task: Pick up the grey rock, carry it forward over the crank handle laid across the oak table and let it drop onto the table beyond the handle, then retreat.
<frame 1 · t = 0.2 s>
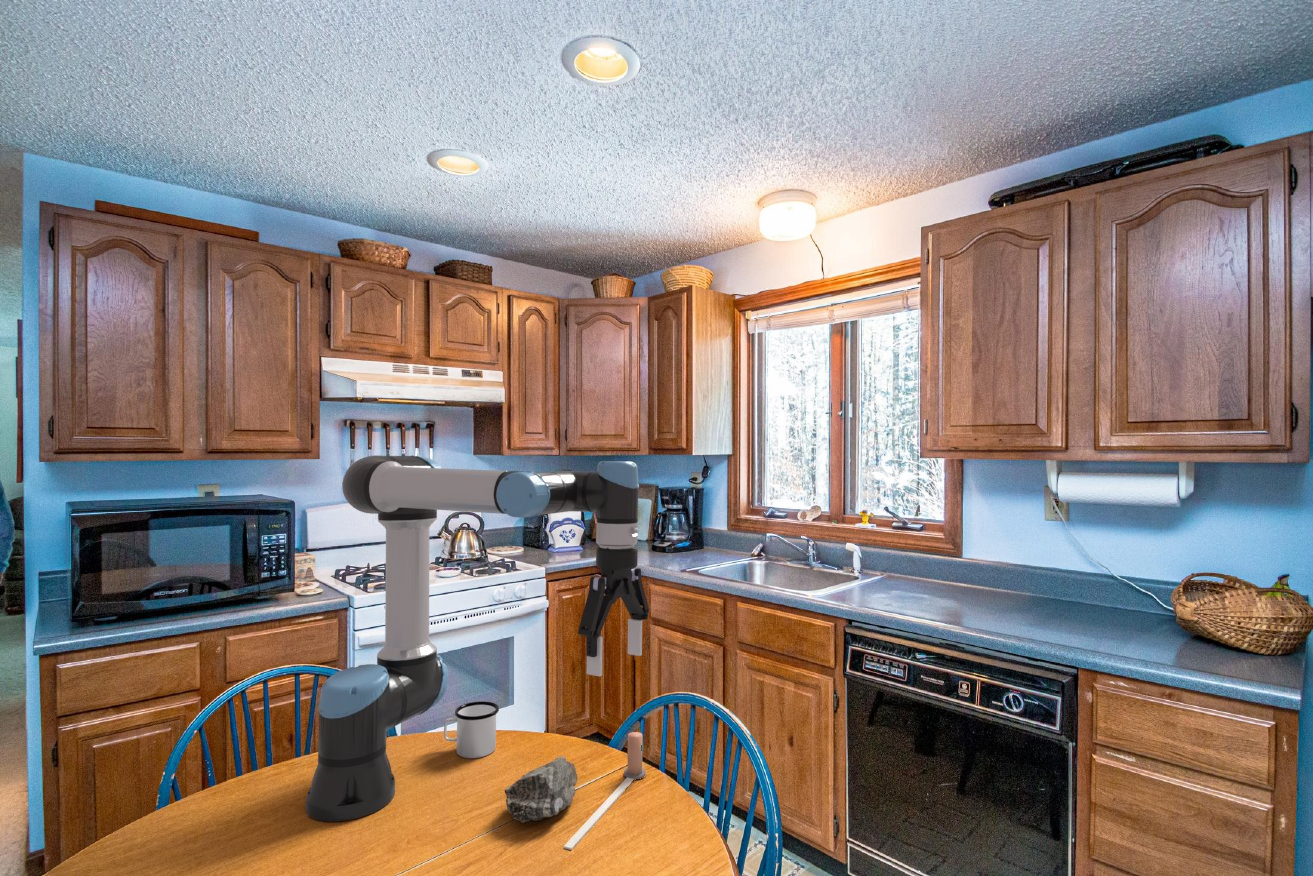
hand: (615, 664, 117), 27 cm above the table, fingers open, 13 cm apart
crank handle: (603, 810, 118), on the table
rock: (542, 807, 120), on the table
mug: (470, 751, 143), on the table
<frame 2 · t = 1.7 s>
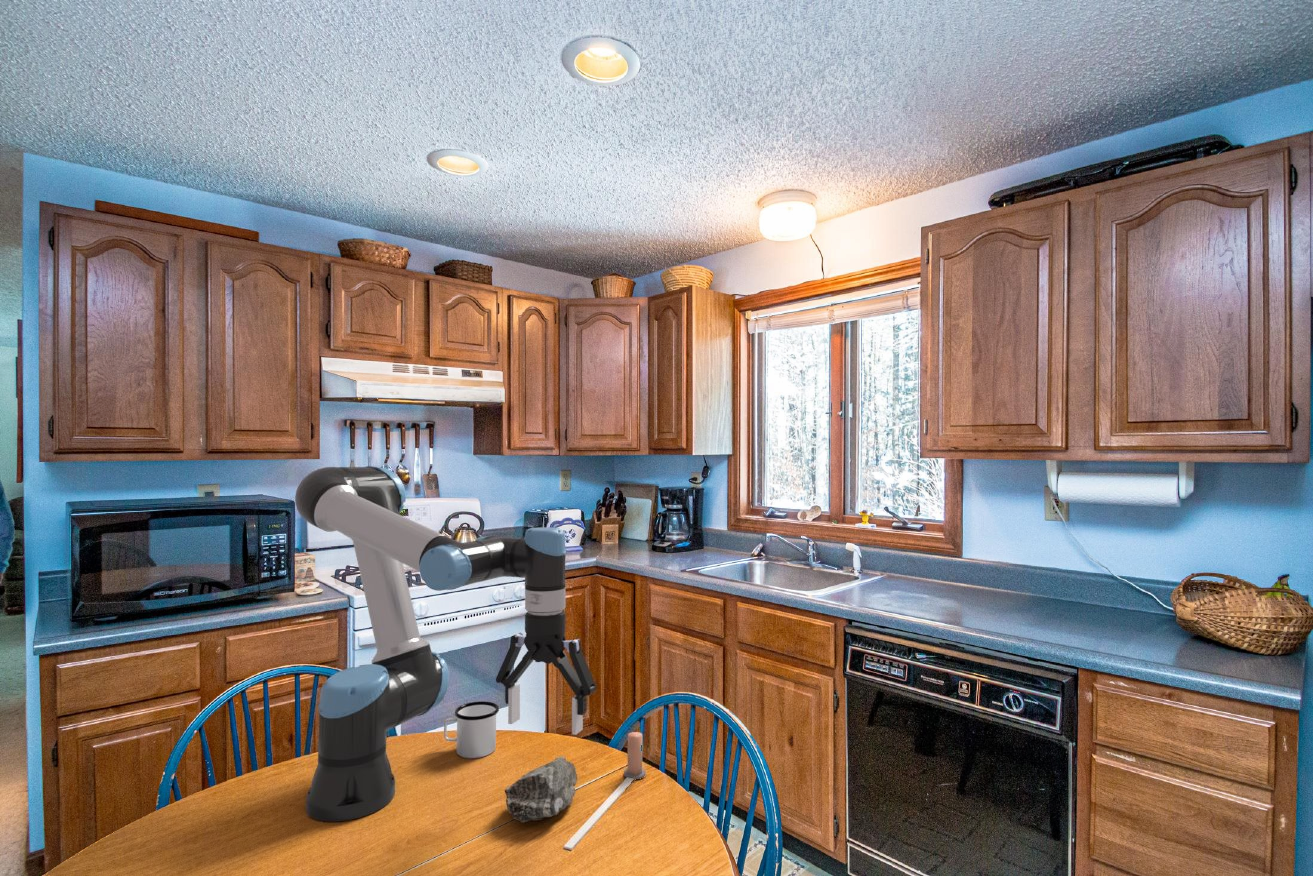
hand: (545, 726, 120), 14 cm above the table, fingers open, 13 cm apart
nothing on the table moved.
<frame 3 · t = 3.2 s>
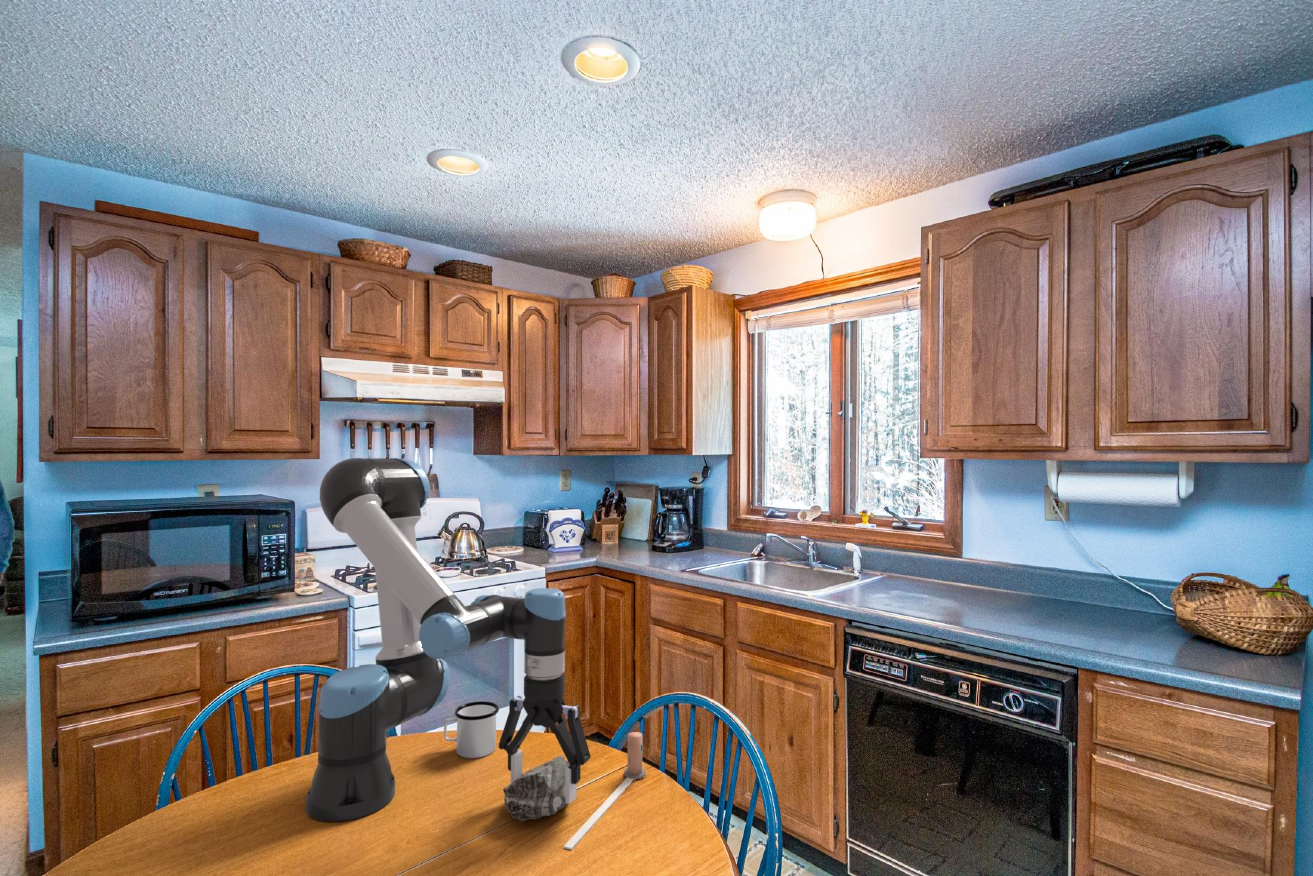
hand: (543, 794, 120), 2 cm above the table, fingers closed on rock, 11 cm apart
rock: (540, 806, 120), on the table, touching gripper
everything else where it was.
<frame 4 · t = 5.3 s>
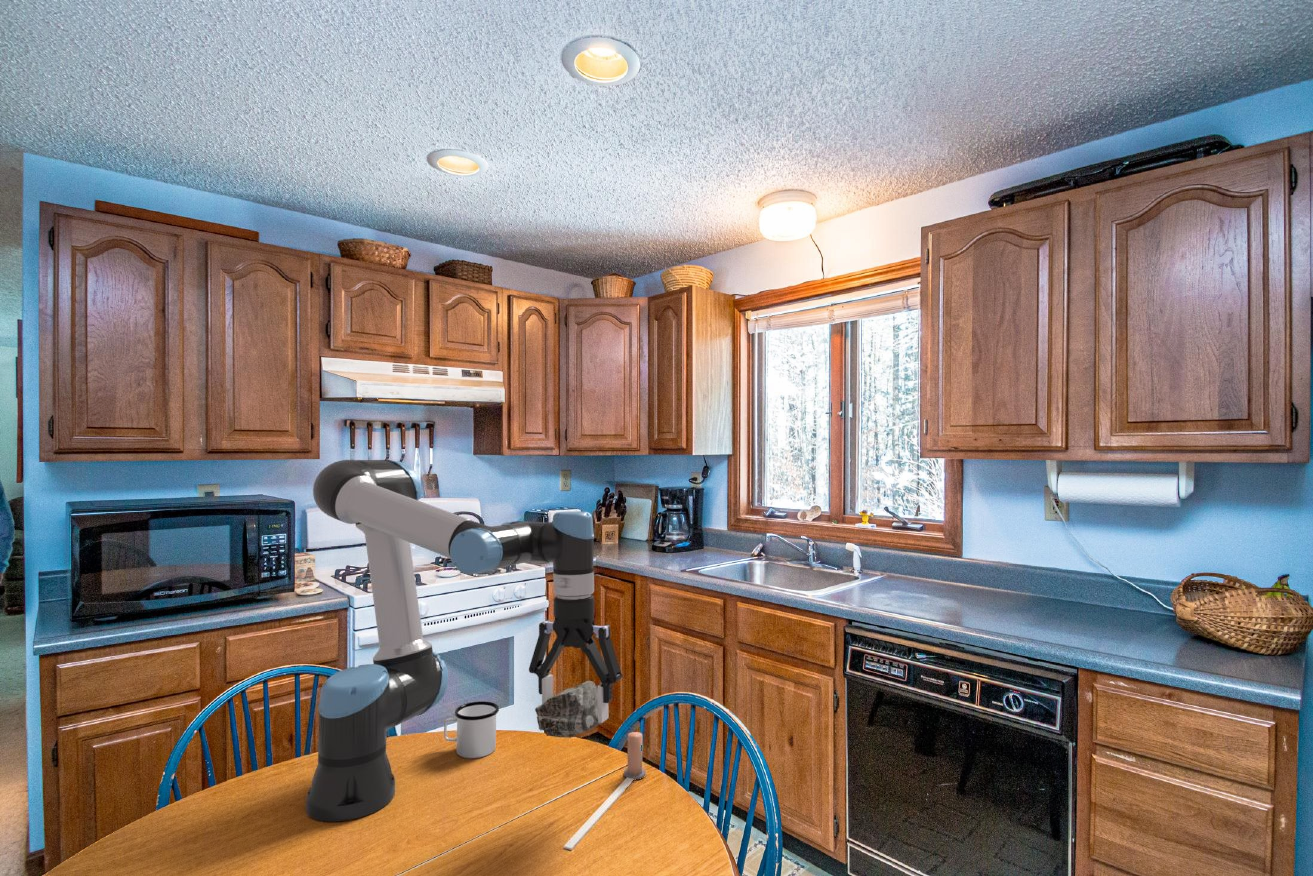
hand: (575, 716, 119), 17 cm above the table, fingers closed on rock, 11 cm apart
rock: (572, 728, 119), point 15 cm above the table, touching gripper
everything else where it was.
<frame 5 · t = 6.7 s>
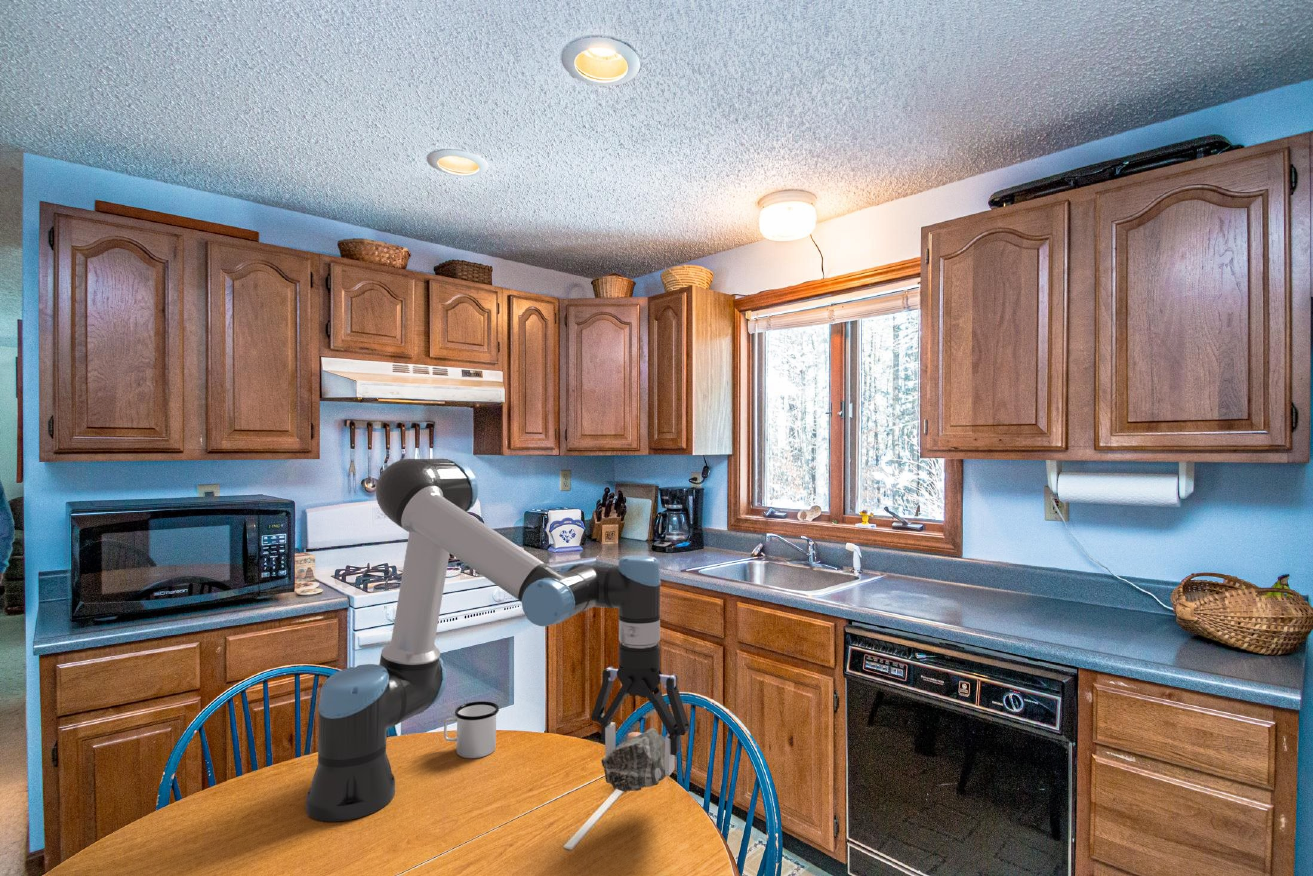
hand: (639, 766, 116), 9 cm above the table, fingers closed on rock, 11 cm apart
rock: (637, 779, 116), point 7 cm above the table, touching gripper
everything else where it was.
when the fingers open (5 cm above the table, at t = 7.7 s): rock drops 3 cm, on the table.
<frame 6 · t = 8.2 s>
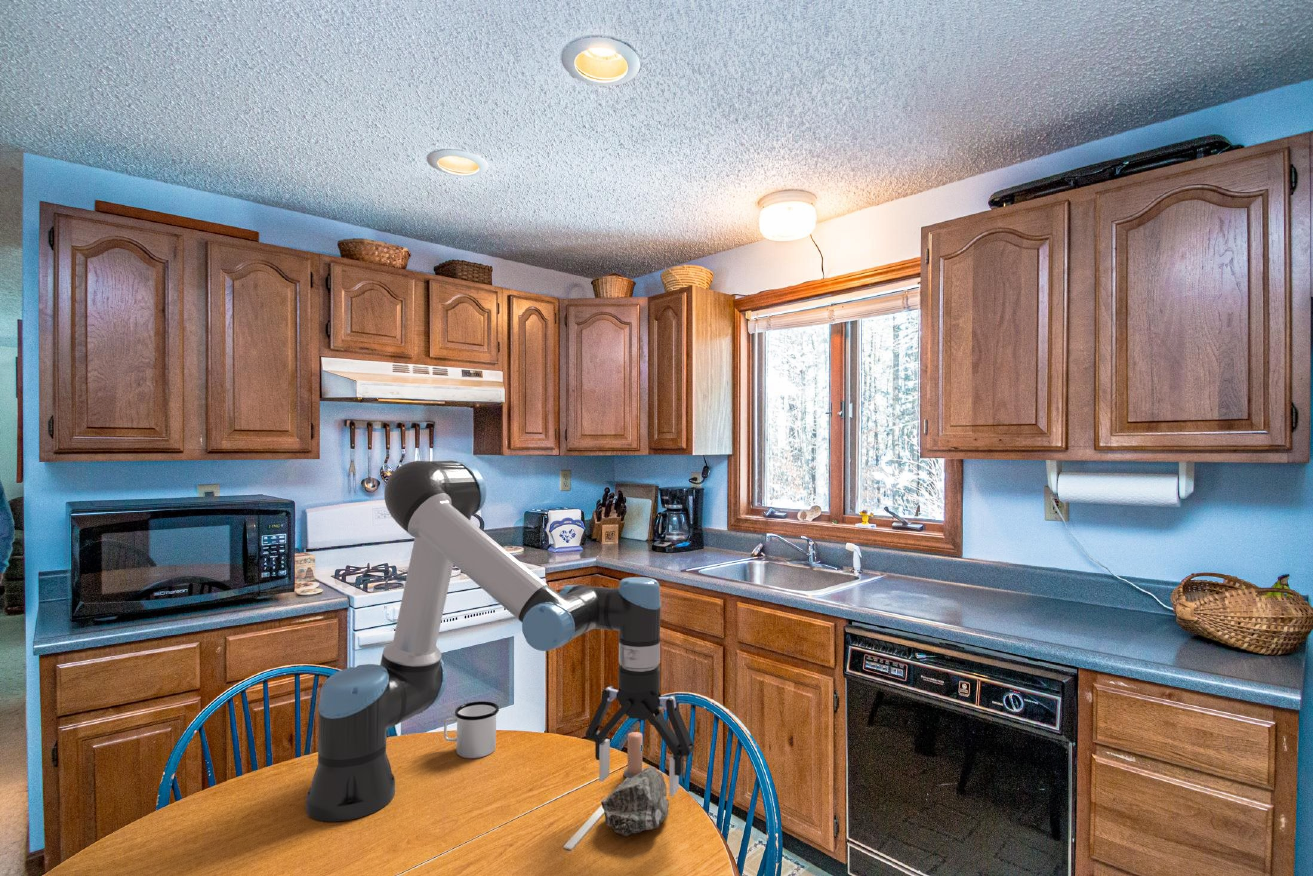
hand: (638, 785, 116), 6 cm above the table, fingers open, 13 cm apart
rock: (636, 819, 116), on the table
everything else where it was.
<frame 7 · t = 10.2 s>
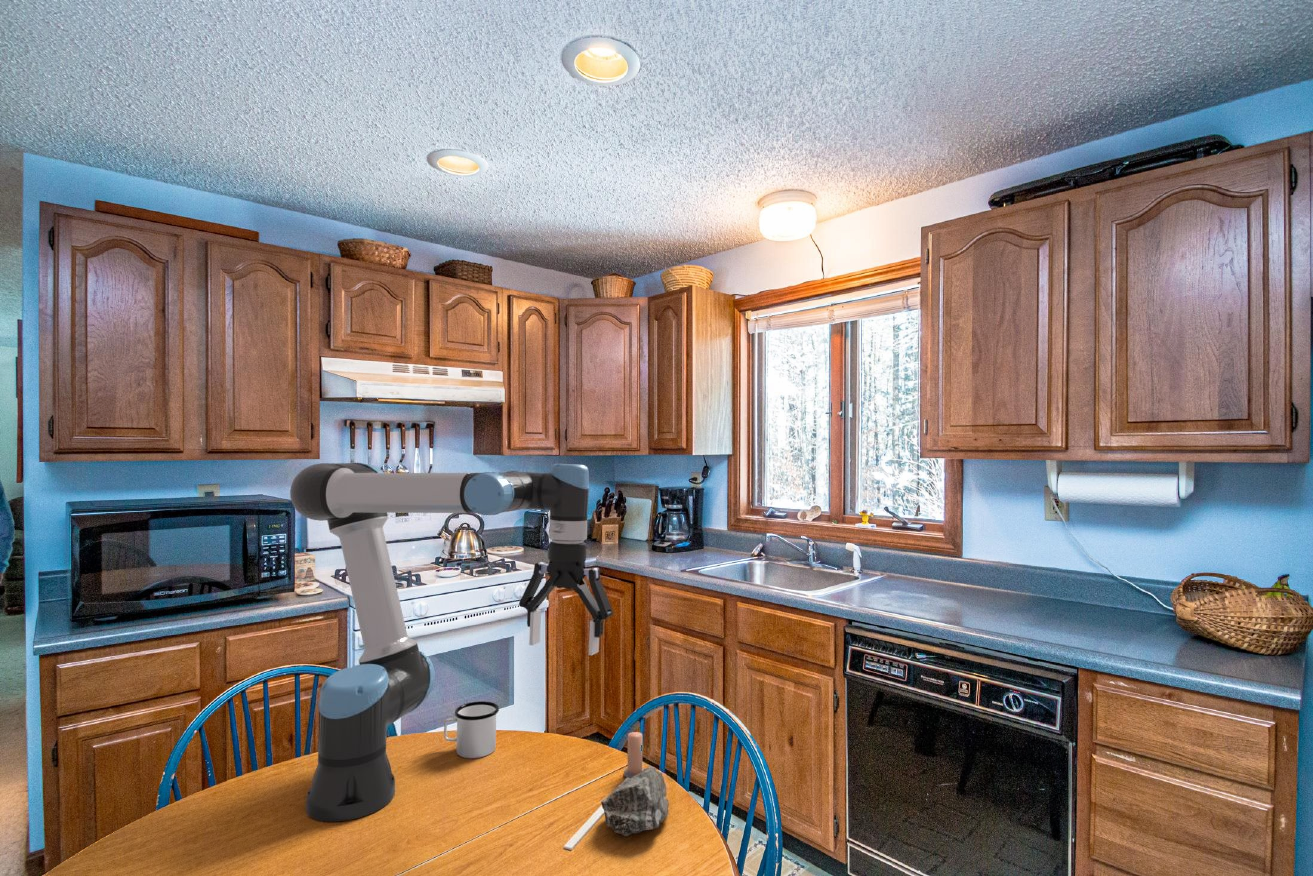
hand: (563, 648, 128), 27 cm above the table, fingers open, 13 cm apart
nothing on the table moved.
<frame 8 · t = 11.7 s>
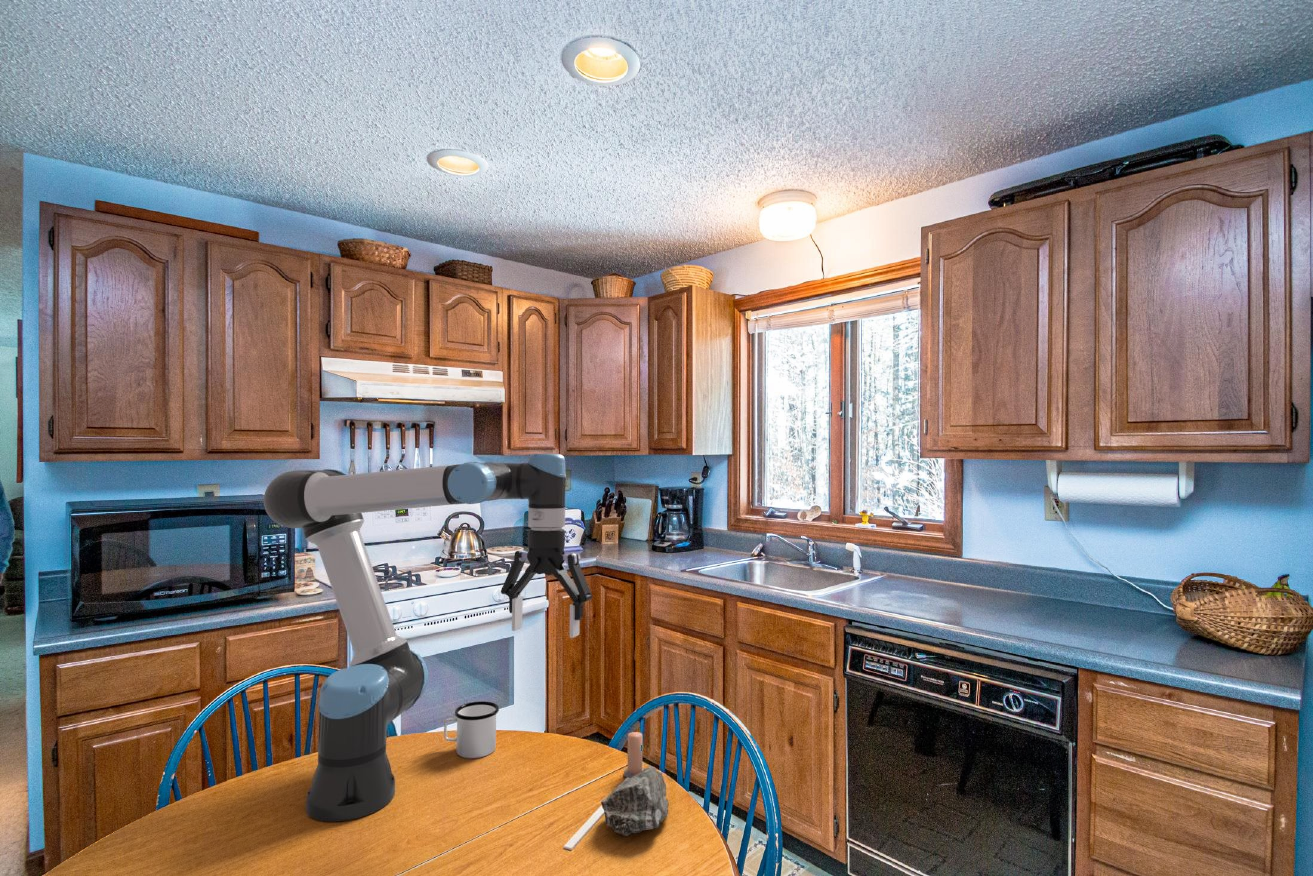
hand: (545, 632, 132), 29 cm above the table, fingers open, 13 cm apart
nothing on the table moved.
at the end: rock inside the target area (6.4 cm from its centre), on the table; the gripper is holding nothing; rock moved 17.9 cm from its start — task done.
